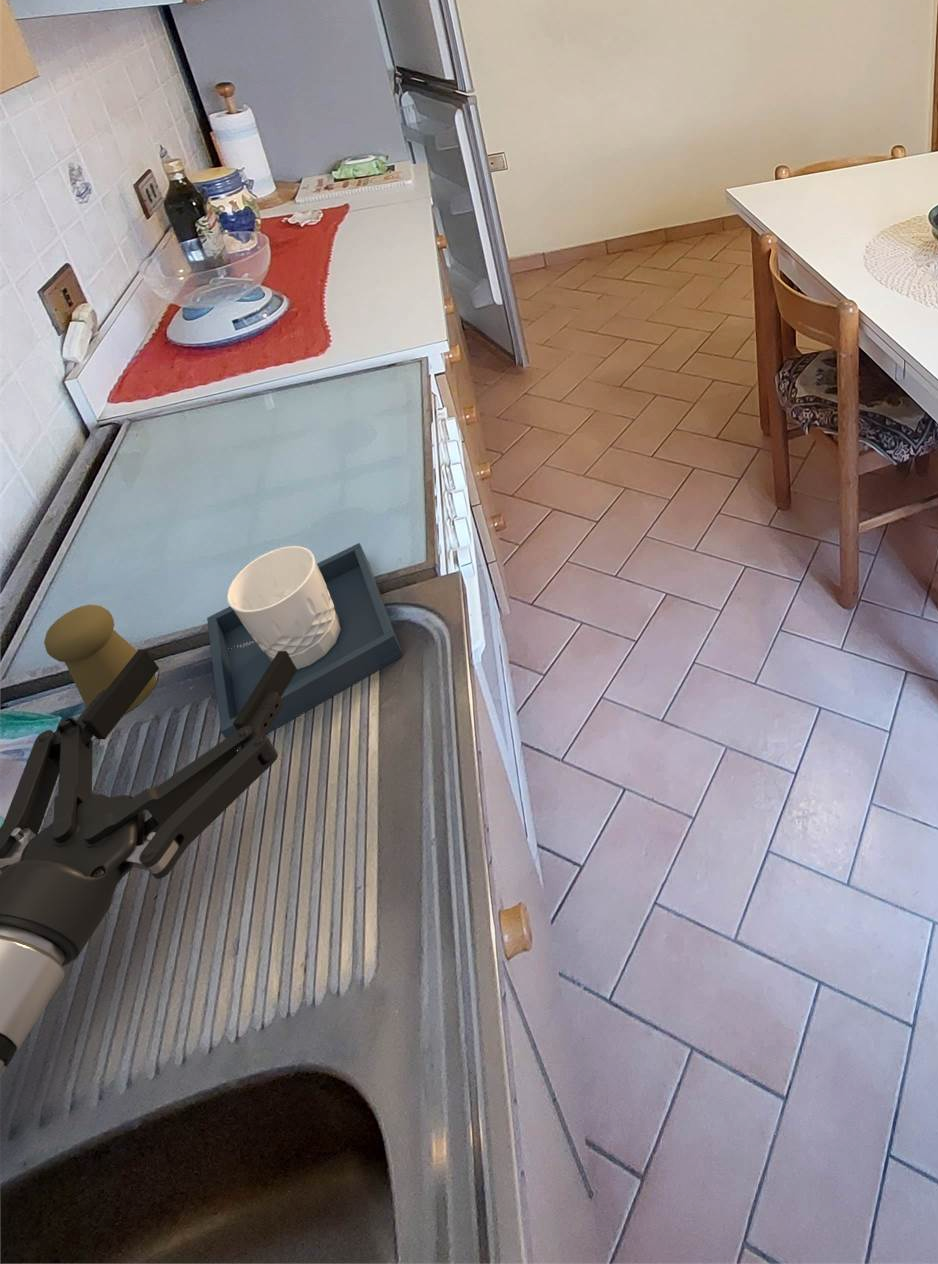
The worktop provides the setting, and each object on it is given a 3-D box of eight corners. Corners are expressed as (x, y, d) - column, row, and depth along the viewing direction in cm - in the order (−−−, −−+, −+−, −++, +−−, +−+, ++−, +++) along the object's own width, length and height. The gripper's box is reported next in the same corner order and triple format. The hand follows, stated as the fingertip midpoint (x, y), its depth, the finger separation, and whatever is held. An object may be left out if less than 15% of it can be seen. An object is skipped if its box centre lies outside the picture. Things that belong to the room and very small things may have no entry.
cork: (160, 694, 81) (109, 623, 76) (89, 733, 78) (30, 662, 73) (156, 653, 85) (107, 583, 80) (88, 688, 82) (33, 618, 77)
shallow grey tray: (219, 637, 86) (206, 617, 85) (368, 561, 94) (359, 542, 92) (235, 752, 75) (220, 731, 73) (403, 656, 82) (393, 635, 81)
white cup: (331, 597, 89) (299, 533, 84) (358, 639, 84) (326, 574, 79) (255, 644, 84) (217, 580, 79) (279, 692, 79) (239, 626, 74)
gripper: (-115, 965, 57) (111, 683, 75) (208, 982, 54) (361, 686, 73) (-184, 916, 53) (72, 632, 72) (160, 932, 51) (333, 634, 69)
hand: (218, 659), depth 72 cm, fingers open, 13 cm apart
